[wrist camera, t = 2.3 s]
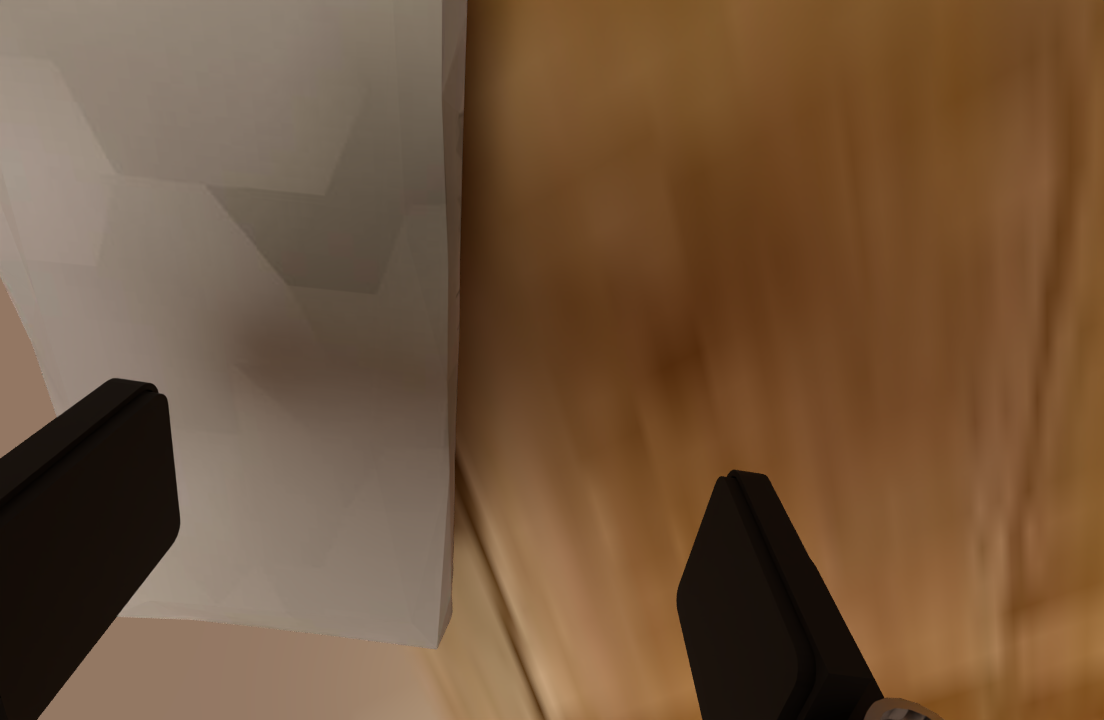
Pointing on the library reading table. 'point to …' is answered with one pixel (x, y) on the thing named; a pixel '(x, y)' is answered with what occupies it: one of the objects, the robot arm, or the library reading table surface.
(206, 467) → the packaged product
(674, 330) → the library reading table surface
